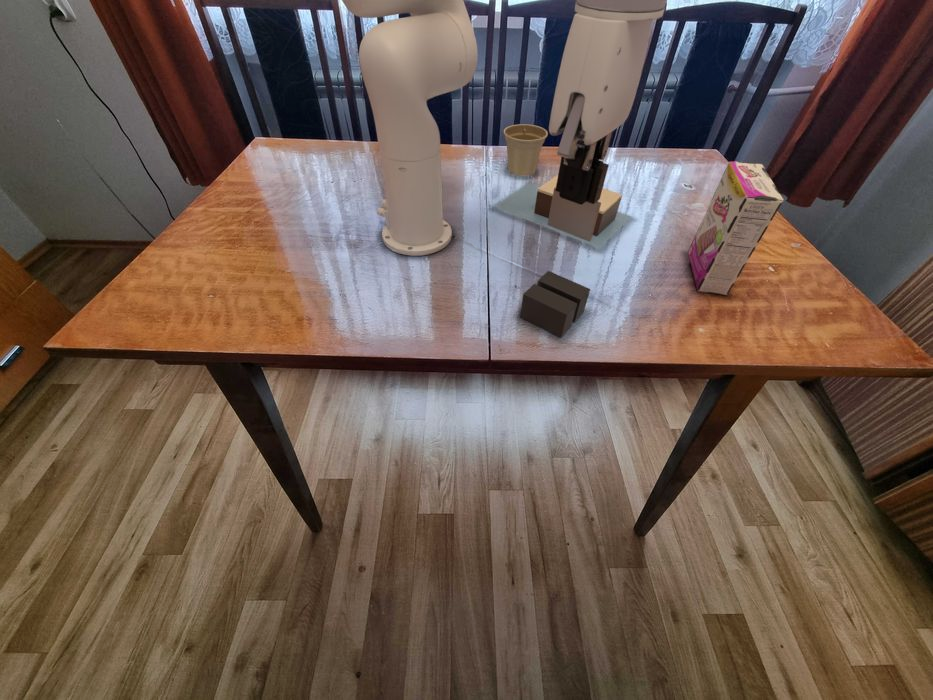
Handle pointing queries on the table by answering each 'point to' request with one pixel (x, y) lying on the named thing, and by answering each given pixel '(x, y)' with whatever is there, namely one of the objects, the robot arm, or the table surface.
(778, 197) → the candy bar box
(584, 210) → the knife
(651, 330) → the table surface
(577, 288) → the knife block
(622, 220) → the platter
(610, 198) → the cake
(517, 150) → the flower pot
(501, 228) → the table surface
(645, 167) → the table surface
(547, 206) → the two-tone brown block
